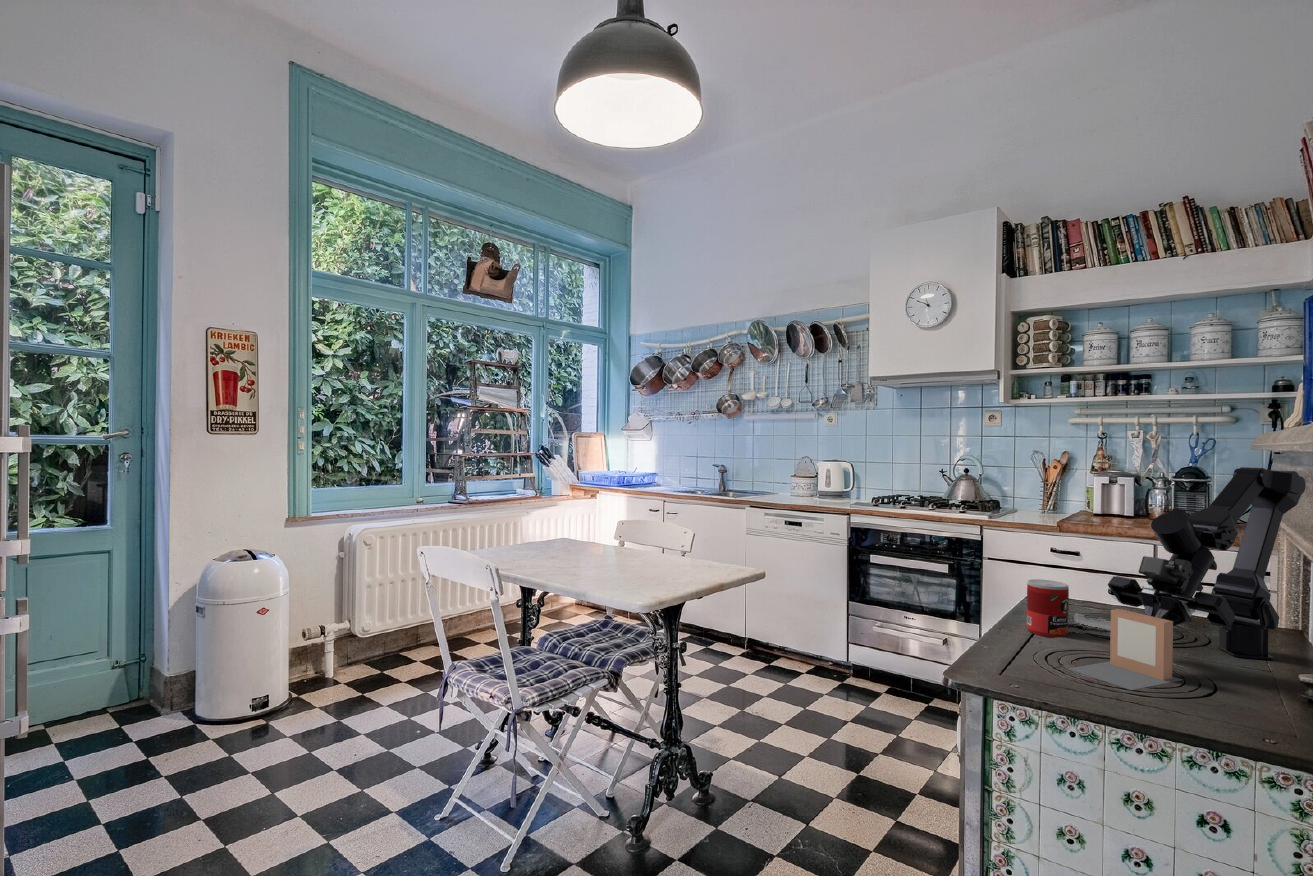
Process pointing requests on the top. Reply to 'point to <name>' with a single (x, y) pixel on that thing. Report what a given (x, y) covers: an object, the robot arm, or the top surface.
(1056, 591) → the canned food
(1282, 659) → the top surface
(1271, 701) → the top surface
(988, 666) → the top surface
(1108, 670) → the rubber mat
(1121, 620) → the terracotta tile
